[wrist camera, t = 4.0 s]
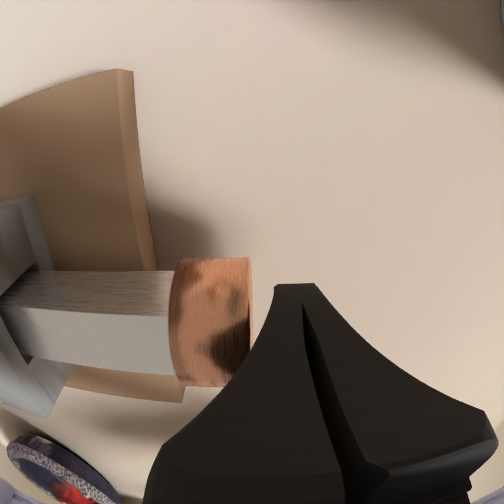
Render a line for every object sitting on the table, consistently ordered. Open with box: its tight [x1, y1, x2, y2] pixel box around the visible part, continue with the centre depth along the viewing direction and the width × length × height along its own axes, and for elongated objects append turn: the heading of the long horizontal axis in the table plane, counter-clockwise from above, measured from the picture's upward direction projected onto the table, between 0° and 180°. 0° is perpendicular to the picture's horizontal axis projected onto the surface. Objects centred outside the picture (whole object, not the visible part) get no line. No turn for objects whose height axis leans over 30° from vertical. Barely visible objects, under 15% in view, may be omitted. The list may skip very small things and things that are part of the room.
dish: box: [7, 434, 122, 504], centre depth 27 cm, size 16×31×5 cm, turn 167°
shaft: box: [0, 257, 253, 387], centre depth 10 cm, size 4×16×4 cm, turn 92°
